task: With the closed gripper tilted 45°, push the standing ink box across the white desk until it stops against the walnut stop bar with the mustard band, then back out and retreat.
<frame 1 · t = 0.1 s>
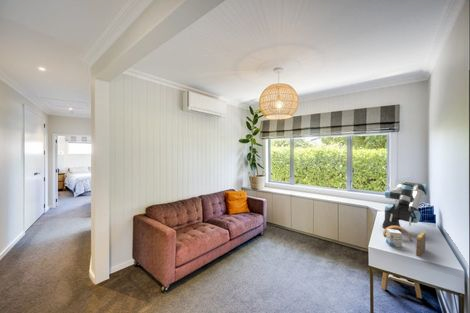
hand: (399, 223, 179), 15 cm above the table, tool tilted 35°, fingers open, 13 cm apart
ink box: (393, 244, 171), on the table
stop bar: (420, 252, 158), on the table
arch: (396, 237, 186), on the table
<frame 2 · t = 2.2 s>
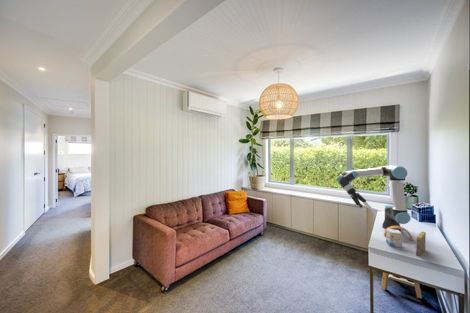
hand: (367, 209, 186), 25 cm above the table, tool tilted 45°, fingers open, 10 cm apart
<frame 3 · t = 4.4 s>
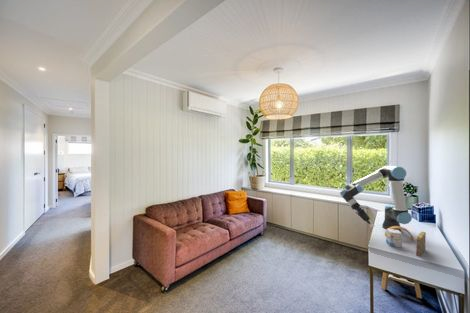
hand: (373, 226, 182), 11 cm above the table, tool tilted 45°, fingers closed
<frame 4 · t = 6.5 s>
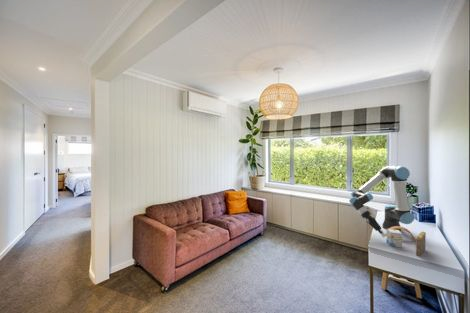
hand: (385, 236, 175), 5 cm above the table, tool tilted 45°, fingers closed
ink box: (394, 244, 171), on the table, touching gripper
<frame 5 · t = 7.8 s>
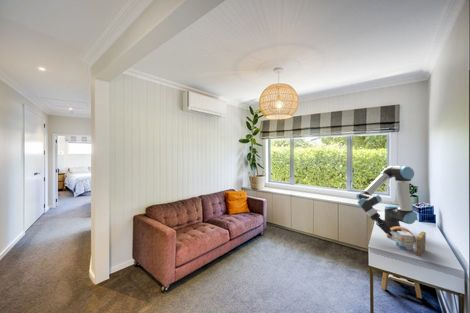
hand: (395, 239, 169), 5 cm above the table, tool tilted 45°, fingers closed
ink box: (404, 247, 166), on the table, touching gripper
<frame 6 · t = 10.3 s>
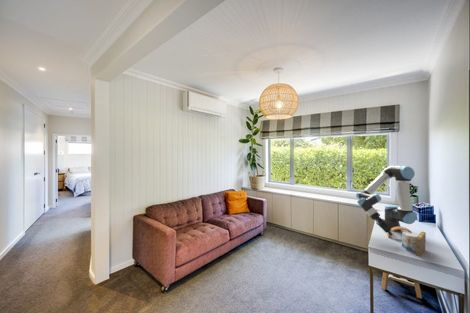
hand: (395, 238, 170), 5 cm above the table, tool tilted 45°, fingers closed
ink box: (410, 248, 164), on the table
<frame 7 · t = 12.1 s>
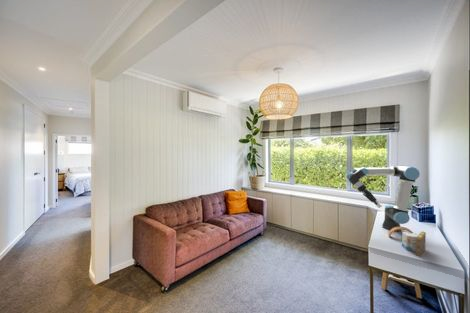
hand: (380, 207, 186), 27 cm above the table, tool tilted 45°, fingers closed
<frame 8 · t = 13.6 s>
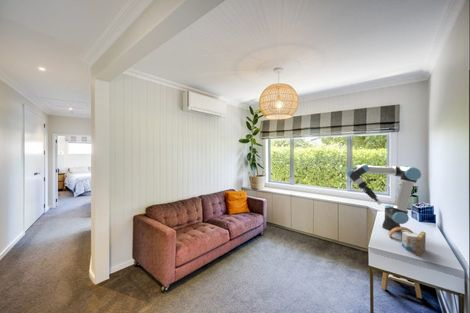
hand: (380, 203, 187), 30 cm above the table, tool tilted 45°, fingers closed
at the end: ink box 2.0 cm from the target spot on the table beside the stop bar, on the table; ink box tilted 0°; the gripper is holding nothing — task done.
